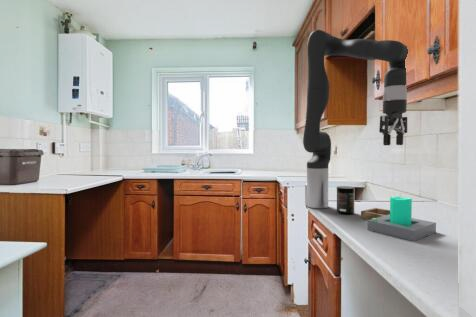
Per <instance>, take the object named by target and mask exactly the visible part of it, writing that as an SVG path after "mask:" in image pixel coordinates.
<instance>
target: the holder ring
mask: <svg viewBox="0 0 476 317" xmlns="http://www.w3.org/2000/svg"><path fill="white" fill-rule="evenodd" d="M389 214H390V209H386V208H385V209H384V208H379V207H372V208H369V209H365V210H361V211H360V218H361V219H365V220H371V219H372V218H378V217H382V216H386V215H389Z"/></svg>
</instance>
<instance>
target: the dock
mask: <svg viewBox="0 0 476 317" xmlns="http://www.w3.org/2000/svg"><path fill="white" fill-rule="evenodd" d="M367 230H369V231H372V232H375V233H379V234H383V235H389V236H391V237H395V238H396V237H397V238H400V239H405V240H408V241H413V242H415V241H418V240H420V239H423V238H425V237H428V236H431V235H433V234H435V233H437V222H434V221H428V220H423V219H418V218H412V217H411V225H410V226H405V225H400V224H395V223H391V222H390V214H389V215H386V216H382V217H378V218H372V219H371V220H369V219H367Z"/></svg>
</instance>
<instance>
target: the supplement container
mask: <svg viewBox="0 0 476 317" xmlns="http://www.w3.org/2000/svg"><path fill="white" fill-rule="evenodd" d="M355 192H356V190H355V186H348V185H347V186H346V185H342V186H341V185H340V186H338V185H337V186H336V213H338V214H339V215H344V216H350V215H351V216H352V215H355V214H354V213H355Z"/></svg>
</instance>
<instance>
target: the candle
mask: <svg viewBox="0 0 476 317" xmlns="http://www.w3.org/2000/svg"><path fill="white" fill-rule="evenodd" d="M389 198H390V199H389V210H390V222H391V223H395V224H400V225H405V226H410V225H411V218H412V211H413V210H412V208H413V207H412V204H413V201H412V200H413V199H412V197H402V194H400V196H393V197H392V196H390V197H389Z"/></svg>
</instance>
